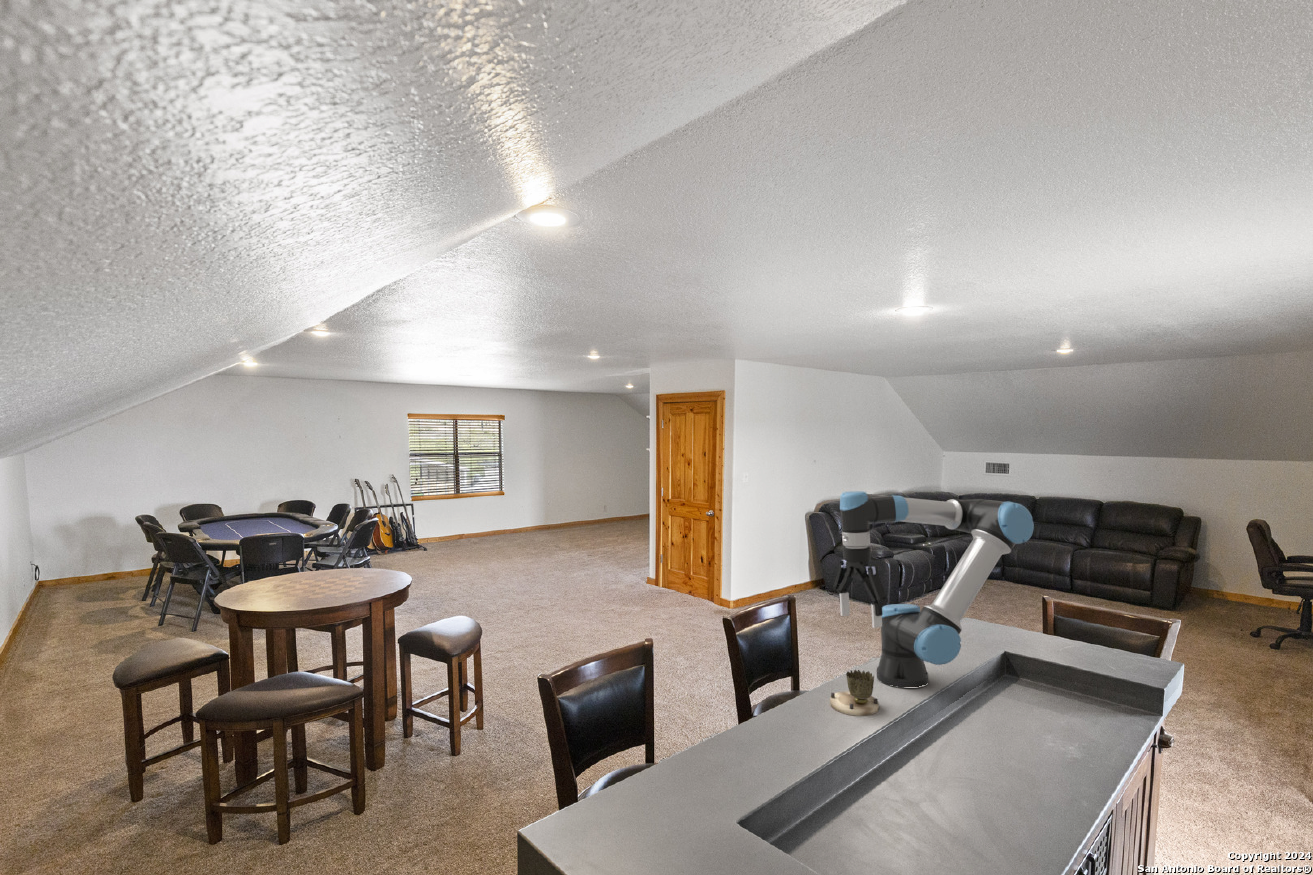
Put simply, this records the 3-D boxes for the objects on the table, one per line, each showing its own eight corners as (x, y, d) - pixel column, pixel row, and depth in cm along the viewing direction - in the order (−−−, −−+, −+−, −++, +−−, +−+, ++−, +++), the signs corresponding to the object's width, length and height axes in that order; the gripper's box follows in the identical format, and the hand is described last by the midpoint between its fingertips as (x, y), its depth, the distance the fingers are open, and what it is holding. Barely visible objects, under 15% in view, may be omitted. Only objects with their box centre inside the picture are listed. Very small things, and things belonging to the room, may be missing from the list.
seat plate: (857, 693, 185) (857, 684, 185) (888, 710, 173) (888, 700, 173) (820, 701, 181) (820, 691, 181) (850, 718, 168) (849, 708, 169)
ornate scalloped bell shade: (878, 708, 171) (877, 678, 171) (851, 708, 171) (850, 679, 171) (870, 697, 178) (869, 669, 179) (844, 697, 179) (843, 669, 179)
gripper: (818, 542, 188) (822, 612, 188) (876, 554, 165) (880, 634, 165) (839, 539, 191) (843, 608, 191) (898, 550, 168) (903, 630, 168)
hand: (860, 621), depth 178 cm, fingers open, 13 cm apart
